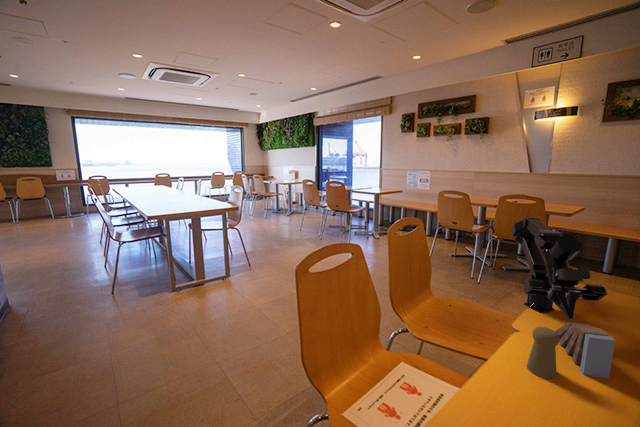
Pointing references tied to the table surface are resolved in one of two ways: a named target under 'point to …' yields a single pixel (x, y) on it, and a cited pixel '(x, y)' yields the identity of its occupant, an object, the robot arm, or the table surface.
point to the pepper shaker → (543, 353)
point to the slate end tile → (597, 355)
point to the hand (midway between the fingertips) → (570, 318)
